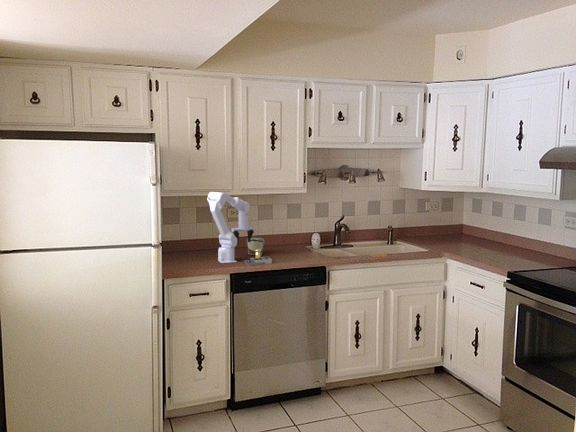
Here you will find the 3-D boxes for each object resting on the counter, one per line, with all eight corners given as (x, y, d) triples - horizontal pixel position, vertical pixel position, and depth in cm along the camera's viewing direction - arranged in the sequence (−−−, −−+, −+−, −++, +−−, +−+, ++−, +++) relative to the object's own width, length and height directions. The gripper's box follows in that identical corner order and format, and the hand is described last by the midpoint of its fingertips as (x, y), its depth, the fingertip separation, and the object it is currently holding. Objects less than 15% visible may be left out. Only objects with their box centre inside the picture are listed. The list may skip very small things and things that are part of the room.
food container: (267, 253, 334) (267, 238, 332) (264, 255, 328) (264, 239, 327) (250, 252, 338) (250, 237, 337) (246, 253, 332) (246, 238, 331)
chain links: (247, 265, 299) (247, 260, 299) (243, 262, 306) (243, 257, 306) (271, 263, 305) (271, 258, 305) (267, 260, 312) (267, 255, 312)
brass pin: (255, 263, 303) (255, 250, 302) (253, 262, 307) (253, 249, 306) (262, 263, 305) (262, 249, 304) (260, 261, 309) (260, 248, 308)
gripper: (234, 222, 311) (234, 244, 313) (256, 221, 318) (256, 242, 319) (230, 220, 317) (230, 242, 319) (252, 219, 324) (252, 240, 326)
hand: (243, 242), depth 320 cm, fingers open, 7 cm apart
